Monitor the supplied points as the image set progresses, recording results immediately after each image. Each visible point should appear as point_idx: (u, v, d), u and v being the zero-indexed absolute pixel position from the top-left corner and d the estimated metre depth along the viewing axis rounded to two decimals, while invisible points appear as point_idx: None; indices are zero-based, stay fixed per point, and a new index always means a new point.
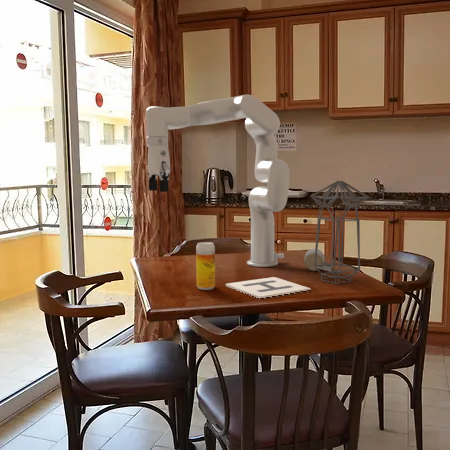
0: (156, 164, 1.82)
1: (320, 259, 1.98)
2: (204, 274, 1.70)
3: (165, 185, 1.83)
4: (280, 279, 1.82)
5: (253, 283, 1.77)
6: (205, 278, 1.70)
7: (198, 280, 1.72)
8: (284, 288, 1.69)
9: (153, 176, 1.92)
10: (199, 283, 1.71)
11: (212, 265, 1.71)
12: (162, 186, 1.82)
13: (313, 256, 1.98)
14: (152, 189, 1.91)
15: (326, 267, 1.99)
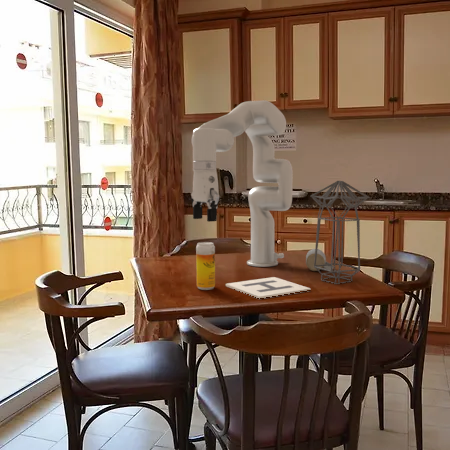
0: (204, 191, 1.66)
1: (321, 259, 1.98)
2: (204, 274, 1.70)
3: (213, 214, 1.66)
4: (280, 279, 1.82)
5: (253, 283, 1.77)
6: (205, 278, 1.70)
7: (198, 280, 1.72)
8: (284, 288, 1.69)
9: (198, 203, 1.75)
10: (199, 283, 1.71)
11: (212, 265, 1.71)
12: (210, 215, 1.66)
13: (314, 256, 1.98)
14: (197, 217, 1.75)
15: (327, 267, 1.99)
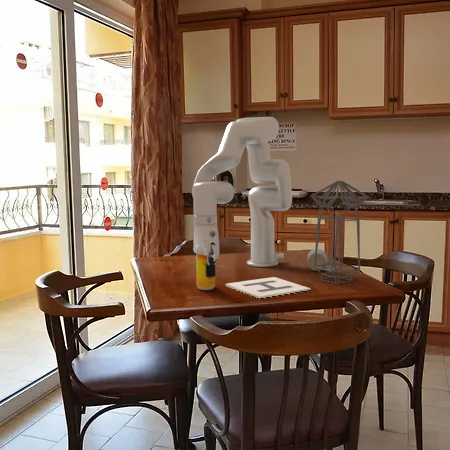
0: (205, 246, 1.68)
1: (323, 259, 1.98)
2: (204, 274, 1.70)
3: (212, 270, 1.70)
4: (280, 279, 1.82)
5: (253, 283, 1.77)
6: (205, 278, 1.70)
7: (198, 280, 1.72)
8: (284, 288, 1.69)
9: None
10: (199, 283, 1.71)
11: None
12: (209, 271, 1.69)
13: None
14: None
15: (329, 267, 1.99)
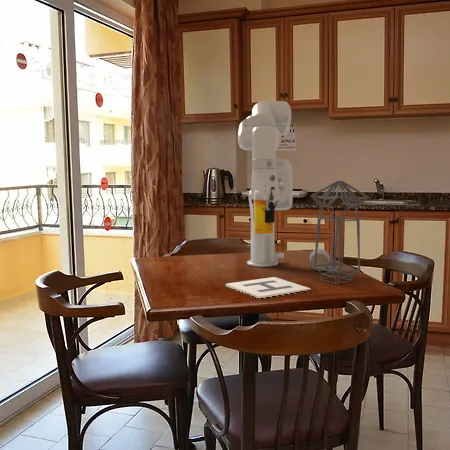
0: (264, 190, 1.65)
1: (326, 259, 1.97)
2: (262, 220, 1.67)
3: (271, 215, 1.67)
4: (280, 279, 1.82)
5: (253, 283, 1.77)
6: (263, 224, 1.68)
7: (256, 226, 1.69)
8: (284, 288, 1.69)
9: None
10: (257, 229, 1.69)
11: None
12: (268, 217, 1.66)
13: (318, 256, 1.98)
14: None
15: None
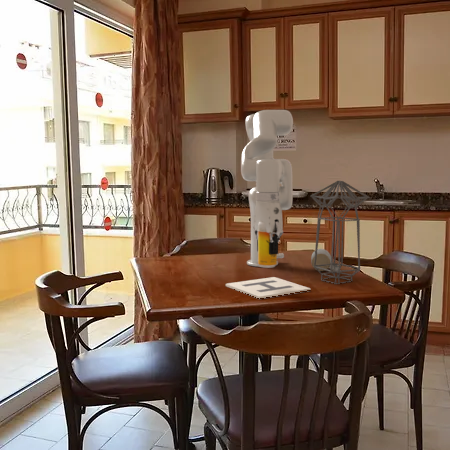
0: (268, 222, 1.66)
1: (327, 259, 1.97)
2: (266, 251, 1.68)
3: (275, 247, 1.68)
4: (280, 279, 1.82)
5: (253, 283, 1.77)
6: (267, 256, 1.69)
7: (260, 258, 1.70)
8: (284, 288, 1.69)
9: None
10: (261, 261, 1.69)
11: None
12: (272, 249, 1.67)
13: (320, 256, 1.98)
14: None
15: (333, 267, 1.98)
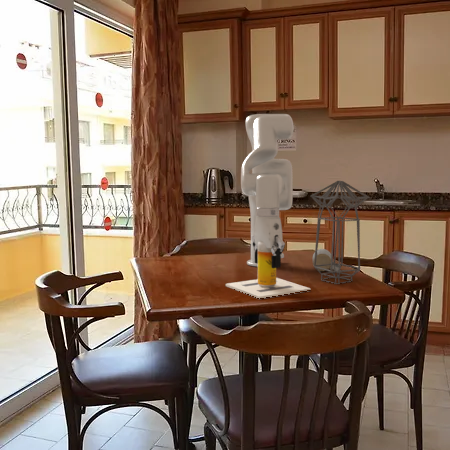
0: (268, 238, 1.67)
1: (328, 259, 1.97)
2: (266, 271, 1.70)
3: (278, 261, 1.67)
4: (280, 279, 1.82)
5: (253, 283, 1.77)
6: (267, 276, 1.70)
7: (260, 278, 1.71)
8: (284, 288, 1.69)
9: None
10: (261, 281, 1.71)
11: None
12: (275, 262, 1.67)
13: (321, 256, 1.98)
14: None
15: None
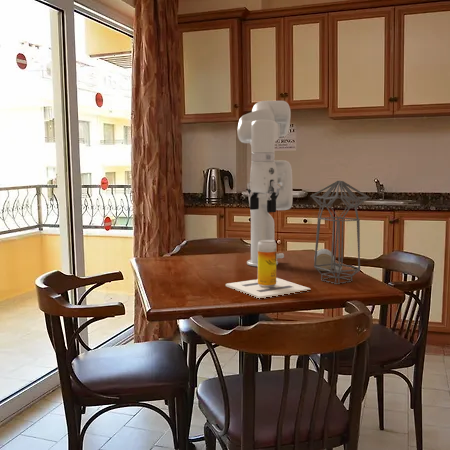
0: (264, 183, 1.68)
1: (330, 259, 1.97)
2: (266, 271, 1.70)
3: (273, 205, 1.68)
4: (280, 279, 1.82)
5: (253, 283, 1.77)
6: (267, 276, 1.70)
7: (260, 278, 1.71)
8: (284, 288, 1.69)
9: (254, 194, 1.77)
10: (261, 281, 1.71)
11: (274, 262, 1.70)
12: (270, 206, 1.68)
13: (323, 256, 1.97)
14: (253, 208, 1.77)
15: (336, 267, 1.98)
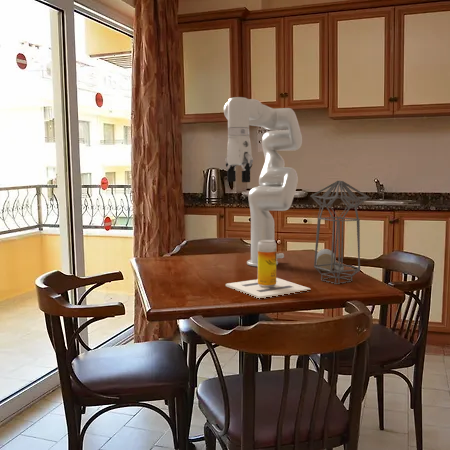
0: (239, 155, 1.82)
1: None
2: (266, 271, 1.70)
3: (247, 176, 1.83)
4: (280, 279, 1.82)
5: (253, 283, 1.77)
6: (267, 276, 1.70)
7: (260, 278, 1.71)
8: (284, 288, 1.69)
9: (231, 167, 1.92)
10: (261, 281, 1.71)
11: (274, 262, 1.70)
12: (244, 177, 1.83)
13: (325, 256, 1.97)
14: (231, 180, 1.92)
15: (338, 267, 1.98)
